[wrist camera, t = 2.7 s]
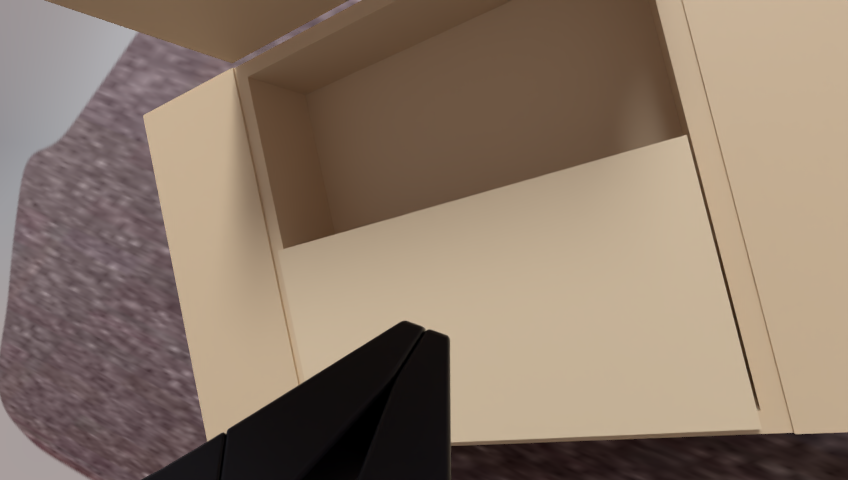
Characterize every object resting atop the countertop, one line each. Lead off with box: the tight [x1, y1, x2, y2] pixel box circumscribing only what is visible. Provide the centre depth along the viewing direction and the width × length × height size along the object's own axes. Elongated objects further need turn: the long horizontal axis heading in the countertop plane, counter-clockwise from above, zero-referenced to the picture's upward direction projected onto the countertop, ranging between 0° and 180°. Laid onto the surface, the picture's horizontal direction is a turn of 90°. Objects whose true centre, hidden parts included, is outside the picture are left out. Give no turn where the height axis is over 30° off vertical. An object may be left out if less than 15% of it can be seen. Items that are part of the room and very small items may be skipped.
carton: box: [143, 0, 848, 446], centre depth 18 cm, size 16×28×4 cm, turn 104°
